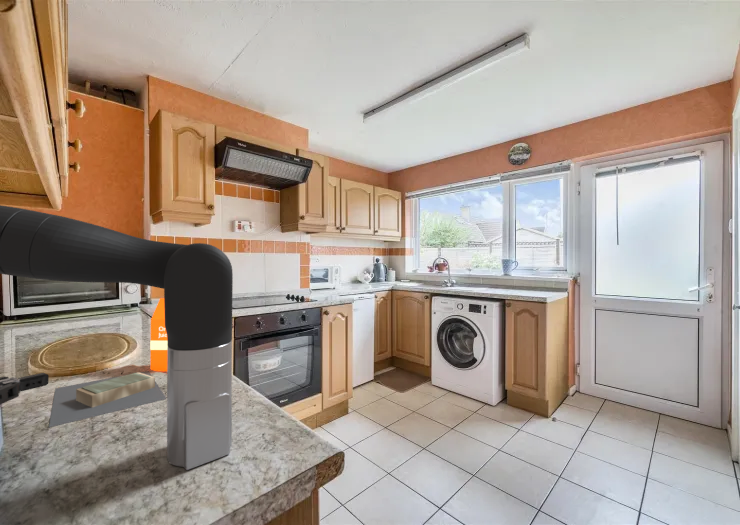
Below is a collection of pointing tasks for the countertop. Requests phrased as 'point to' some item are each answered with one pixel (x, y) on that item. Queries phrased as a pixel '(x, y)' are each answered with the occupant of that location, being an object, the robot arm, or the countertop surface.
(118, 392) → the birch plaque
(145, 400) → the rubber mat
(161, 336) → the orange juice
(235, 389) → the countertop surface
